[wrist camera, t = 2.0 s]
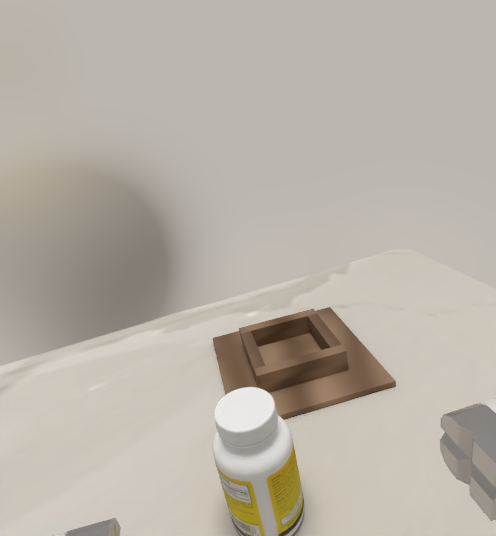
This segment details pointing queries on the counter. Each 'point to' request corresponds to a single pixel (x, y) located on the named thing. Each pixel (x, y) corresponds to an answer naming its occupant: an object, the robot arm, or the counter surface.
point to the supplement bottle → (257, 464)
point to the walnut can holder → (300, 362)
